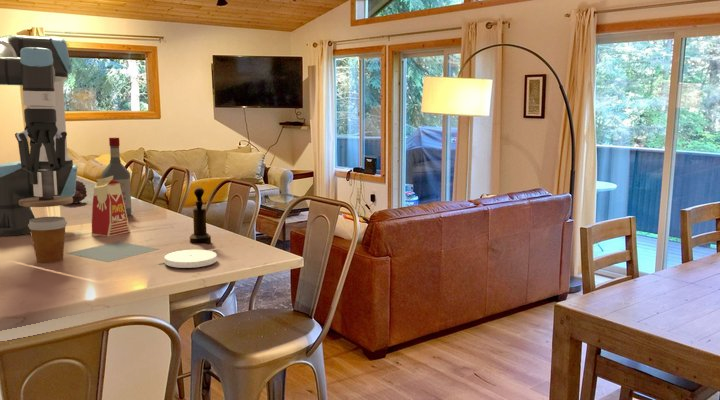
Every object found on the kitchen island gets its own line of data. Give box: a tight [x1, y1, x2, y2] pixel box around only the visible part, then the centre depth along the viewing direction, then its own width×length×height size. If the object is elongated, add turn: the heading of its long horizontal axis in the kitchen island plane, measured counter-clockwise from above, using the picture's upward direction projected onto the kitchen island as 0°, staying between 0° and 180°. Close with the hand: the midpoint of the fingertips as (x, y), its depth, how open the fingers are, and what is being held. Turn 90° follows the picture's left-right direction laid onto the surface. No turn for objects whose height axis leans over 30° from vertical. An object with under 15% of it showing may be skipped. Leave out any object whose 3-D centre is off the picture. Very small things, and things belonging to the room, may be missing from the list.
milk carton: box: [91, 176, 131, 238], centre depth 200 cm, size 9×9×20 cm
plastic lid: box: [163, 249, 218, 269], centre depth 167 cm, size 14×14×2 cm
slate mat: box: [66, 240, 159, 263], centre depth 177 cm, size 18×18×1 cm
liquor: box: [101, 137, 132, 217], centre depth 234 cm, size 9×9×30 cm
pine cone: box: [71, 179, 88, 204], centre depth 260 cm, size 18×10×10 cm, turn 40°
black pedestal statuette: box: [189, 186, 212, 245], centre depth 190 cm, size 7×6×18 cm
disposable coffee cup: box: [28, 216, 68, 264], centre depth 165 cm, size 10×10×12 cm
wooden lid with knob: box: [19, 169, 73, 208], centre depth 163 cm, size 13×13×9 cm
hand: (45, 195), depth 163 cm, fingers closed on wooden lid with knob, 3 cm apart
